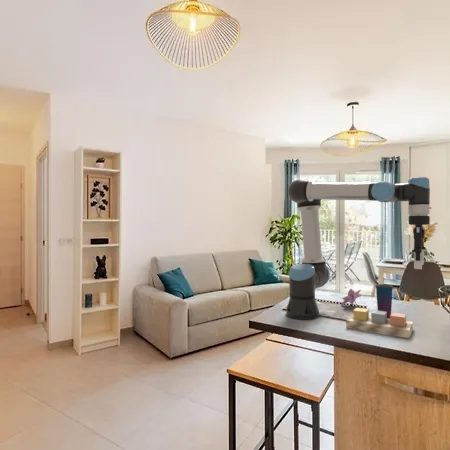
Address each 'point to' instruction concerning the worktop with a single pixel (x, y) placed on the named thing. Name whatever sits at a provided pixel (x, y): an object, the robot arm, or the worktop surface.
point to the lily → (351, 297)
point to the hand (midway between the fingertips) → (419, 266)
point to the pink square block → (398, 319)
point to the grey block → (379, 316)
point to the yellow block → (361, 314)
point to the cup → (384, 298)
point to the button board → (380, 327)
